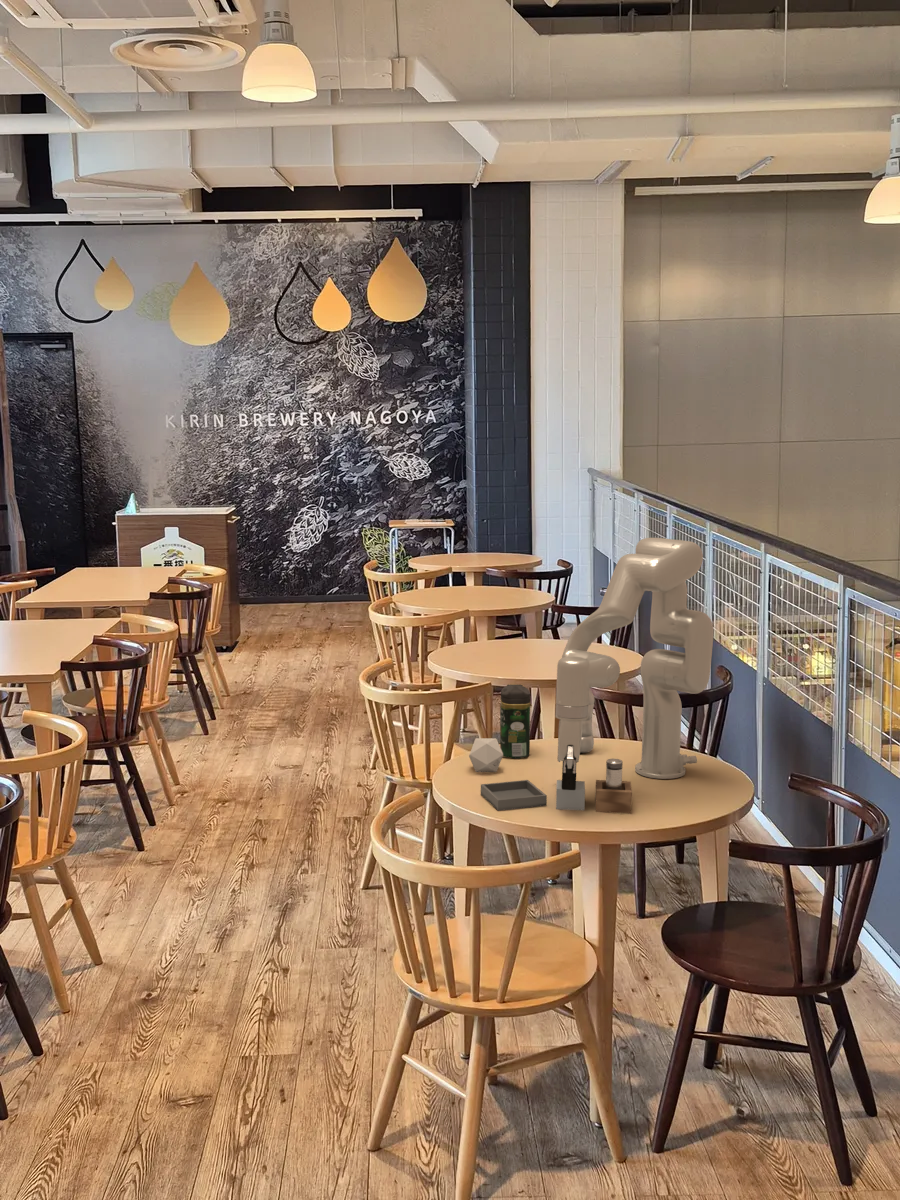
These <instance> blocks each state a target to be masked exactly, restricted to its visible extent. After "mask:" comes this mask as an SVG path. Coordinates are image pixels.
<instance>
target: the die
mask: <svg viewBox="0 0 900 1200" xmlns="http://www.w3.org/2000/svg"><path fill="white" fill-rule="evenodd" d="M468 757H469V759H470V762H471V764H472V767H473V769H474V771H475V772H474V773H497V772H498V770H499V767H500V764H501V762H502V760H503V758H504V756H503V752H502V750H501V748H500V743H499V742H498V739H497V738H492V737H491V738H489V737H488V738H486V737H485V738H483V737H482V738H479V737H478V738H477V737H475V739H474V741H473V744H472V746H471V749H470V752H469V755H468Z"/></svg>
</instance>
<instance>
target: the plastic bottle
mask: <svg viewBox="0 0 900 1200" xmlns="http://www.w3.org/2000/svg"><path fill="white" fill-rule="evenodd" d="M594 706H595V696H594V694H593V692H592V690H591V688H590V689H589V708H588V719H587V720H583V723H582V739H581V749H580V754H582V753H589V752H591V751H592V750H594V746H595V739H594V735H593V712H594Z"/></svg>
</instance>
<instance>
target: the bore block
mask: <svg viewBox="0 0 900 1200" xmlns="http://www.w3.org/2000/svg"><path fill="white" fill-rule="evenodd" d="M594 796H595V797H594V801H595V804H594V805H595V812H596V813H616V814H632V798H633V797H632V796H633V791H632V784H631V781H630V780H622V790H611V789H606V779H601V780H600V779H595V795H594Z"/></svg>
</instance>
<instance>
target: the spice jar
mask: <svg viewBox="0 0 900 1200" xmlns="http://www.w3.org/2000/svg"><path fill="white" fill-rule="evenodd" d="M605 764H606V765H605V769H606V771H605V773H606V774H605V780H606V789H611V790H622V781H623V760H622V759H619V758H607V759H606V763H605Z"/></svg>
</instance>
